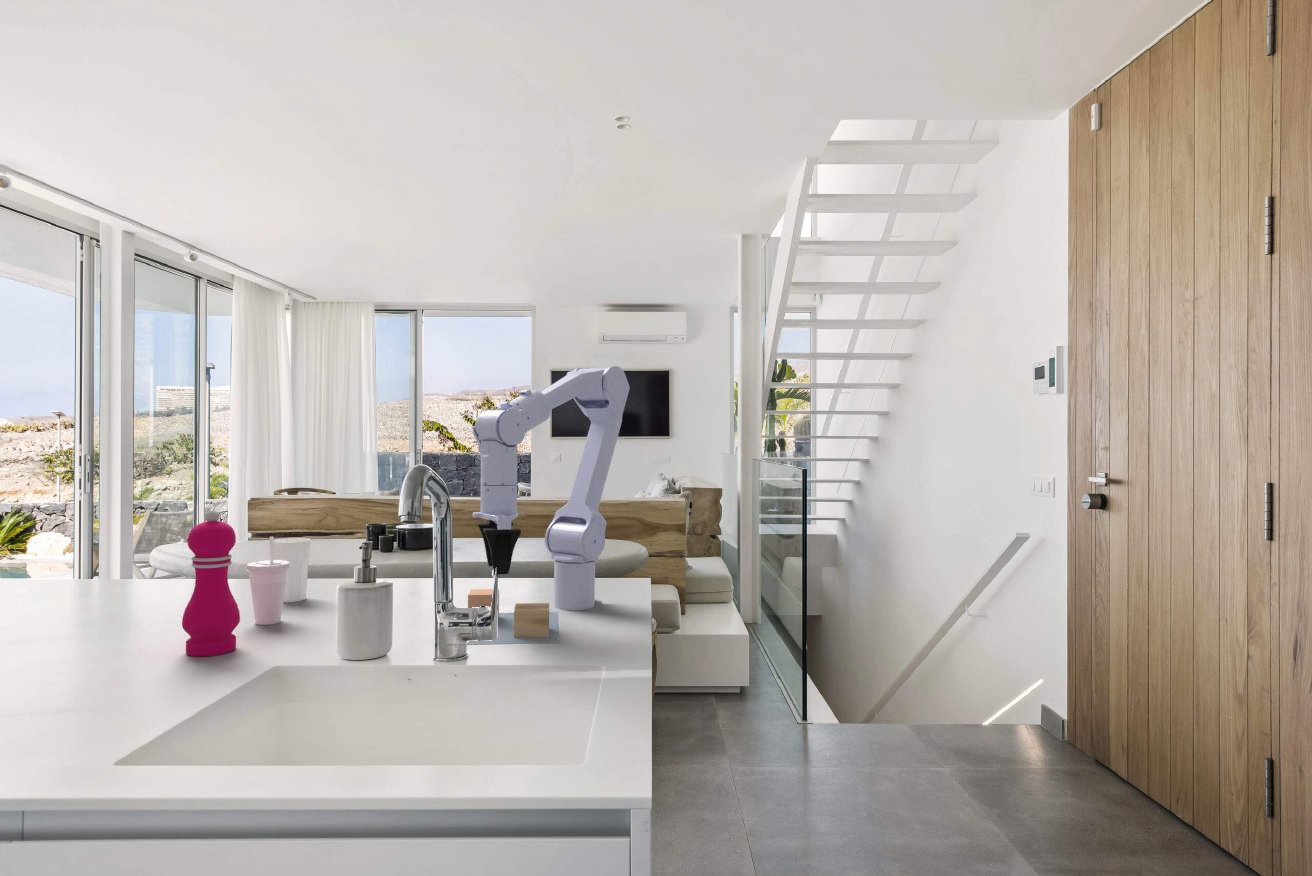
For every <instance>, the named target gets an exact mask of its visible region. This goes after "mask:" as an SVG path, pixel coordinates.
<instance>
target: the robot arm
mask: <svg viewBox="0 0 1312 876" xmlns="http://www.w3.org/2000/svg"><path fill="white" fill-rule="evenodd" d="M630 389H631V387H630V384H629V382H628V379H627V375H626V373H625V371H624V370H623V369H622V368H621V367H620V366H617V365H612V366H609V367H608V366H607V367H606V366H605V367H604V366H603V367H590V368H589V367H586V368H585V367H577V368H575V369H574V370H570V371H568V372H566V375H565V376H563V377H562V378H560V379H558V380H557V381H555V382H554V383H552V384H551V385H549V386H548V387H546V388H544V389H543V390H542V391H539V390H535V389H531V388H529V389H523V390H520V391H519V394H520V395H519V396H517V397H515V398H514V399H512V400H510V401H502V402H501V403H500V404H499V405H500V406H499V407H498V408H497V409H486V410H484V411H482V412H481V413H480V414H479V416H478V417H477V419H476V420H475V424H474V426H472V434H473V437H474V439H475V440H476V442H477V445H478V447H477V448H478V452H479V455H480V511H474V512H472V517H473V518H474V519H475V518H480V519H482V520H483V519H484V520H487V522H478V523H477V527H478V529H479V531H480V534H481V536H482V539H483V544H484V549H485V556H486V561H487V565H488V566H489V567H492V569H493V573H494V575H509V571H510V569H511V564H512V560H513V559H512V558H513V555H514V550H515V547H516V544H517V541H518V540H519V538H520V536H521V533H522V530H521V529H517V528H516V529H512V527H513V524H514V522H513V520H515V519H517V518H519V512H518V445H520V444H521V443H522V442H524V439H525V436H526V435H527V433H528V432H530V431H532V430H533V429H535V428H536V427H538V426H540V425H541V424H543V423H545V422H546V421H548V420H549V418H550V417H551V413H552V410H553V409H555V408H557V407H559V406H561V405H563V404H565V403H567V402H569V401H571V400H572V399H573V400H574V402H575V403H576V404H577V407H578V408H579V409H580V410H581V412H582V413H583V415H584V416H586V417H587V418H589V419H588V420H590V426H589V428H588V429H589V430H588V432H587V433H588V434H587V437H586V439H585V440H586V441H585V442H584V447H583V451H582V454H581V457H580V460H579V464H578V468H577V472H576V475H575V479H574V482H573V486H572V489H571V492H570V496H569V498H568V502H567V503H565V504H564V505H563V506H562V507H560V508H559V509H558V510H556V511H555V513H554V516H553V519H552V521H551V522H550V524H549V525H548V527H547V529H546V532H545V535H544V544H545V548H546V549H547V551H548V553H550V555H551V559H552V560H554V565H553V570H554V571H553V572H554V573H553V575H554V576H553V577H554V578H553V607H554V608H556V609H558V610H563V611H582V610H589V609H592V608H594V607H595V604H596V603H595V602H596V600H595V599H596V598H595V597H596V596H595V595H596V581H595V580H596V561H598V560H599V557H600V556H601V555H602V553H603V551H604V549H605V543H606V538H605V537H606V527H607V520H606V519H605V518H604V516H603V515H602V513H600V511H599V506H600V504H601V499H602V496H603V492H604V488H605V484H606V480H607V477H608V475H609V474H608V473H609V470H610V466H611V462H612V459H613V456H614V452H615V447H616V445H617V441H618V437H619V434H620V429H621V426H622V422H623V414H624V411H625V407H626V403H627V400H628V395H629V392H630ZM496 567H497V574H495V568H496Z"/></svg>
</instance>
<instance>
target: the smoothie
mask: <svg viewBox="0 0 1312 876" xmlns="http://www.w3.org/2000/svg"><path fill="white" fill-rule="evenodd" d="M274 540H275V539H274V536H269V560H268V559H267V560H258V561H252V562H248V563H247V564H246V572H248V576H249V582H250V583H249V585H250V591H251V599H252V607H253V616H254V623H255V624H256V625H259V626H267V625H268V626H270V625H275V624H279V623H281V620H282V615H283V613H282V612H283V606H284V602H283V600H284V592H285V585H286V578H287V571H288V569H289V568H290V562H288V561H284V560H273V543H274Z"/></svg>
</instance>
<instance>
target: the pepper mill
mask: <svg viewBox="0 0 1312 876" xmlns="http://www.w3.org/2000/svg"><path fill="white" fill-rule="evenodd" d="M219 518H220V514H219V512H218V511H217V510H213V509H212V510H210V509H209V510H208V511H207V512H206V513H205V514H204V519H205V521H203V522H200V523H198V524H196V525H195V526H194V527H193V528H192V529H190V531H189V534H188V537H187V546H188V548H189V550H190V551H191V552H192V553H193V556H192V557H191V561H192V563H191V564H190V565H191V568H194V571H195V572H194V574H195V581H194V589H193V591H192V593H191V597H190V599H189V601H188V602H187V604H186V606H185V608H184V612H183V615H182V619H181V626H182V629H183V631H184V632H186V634H188V635H189V638H188V639H186V641H185V654H186V655H188V656H191V657H202V658H203V657H212V656H213V657H214V656H220V655H224V654H228V653H230V652H233V651H234V650H235V649H236V648H237V636H236V634H234V633H233V631H234V630H235V629H236V628H237V627H238V625H239V624H240V621H241V614H240V609H239V605H238V603H237V600H235V597H234V595H233V593H232V591H231V589H230V584H229V580H228V579H229V578H228V576H229V574H228V571H229V566H231V565H232V563H233V562H232V560H231V559H232V557H233V555H232V554H231V553H230V552H231V551H232V549H233V548H234V546H235V545H236V542H237V541H236V540H237V538H236V537H237V535H236V533H235V532H236V531H235V530H234V528H233V527H232V526H231V525H230V524H229V523H226V522H223V521H219Z"/></svg>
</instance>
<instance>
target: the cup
mask: <svg viewBox="0 0 1312 876" xmlns="http://www.w3.org/2000/svg"><path fill="white" fill-rule="evenodd" d="M310 553H311V538H308V537H307V538H306V537H287V538H286V537H284V538H276V539H274V543H273V560H284V561H288V562H290V568H289V569H288V571H287V578H286V585H285V592H284V600H283V603H295V602H296V603H297V602H301V601H304V600H306V599H307V588H308V570H309V558H310V555H311V554H310Z"/></svg>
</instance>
